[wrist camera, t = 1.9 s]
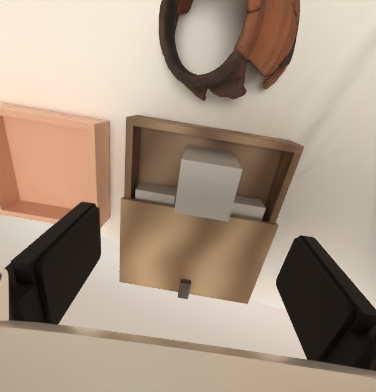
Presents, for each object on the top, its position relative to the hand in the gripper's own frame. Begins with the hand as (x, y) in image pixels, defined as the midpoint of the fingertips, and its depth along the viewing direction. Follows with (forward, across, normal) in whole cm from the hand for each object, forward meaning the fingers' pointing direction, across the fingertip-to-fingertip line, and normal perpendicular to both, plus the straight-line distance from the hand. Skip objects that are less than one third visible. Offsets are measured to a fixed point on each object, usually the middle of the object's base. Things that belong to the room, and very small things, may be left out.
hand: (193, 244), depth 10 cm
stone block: (+13, -1, 0) cm, 13 cm away
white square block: (+12, -6, +4) cm, 14 cm away
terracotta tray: (+14, +15, +2) cm, 20 cm away
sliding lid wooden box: (+13, -1, +5) cm, 14 cm away
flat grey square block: (+13, +4, +4) cm, 14 cm away
